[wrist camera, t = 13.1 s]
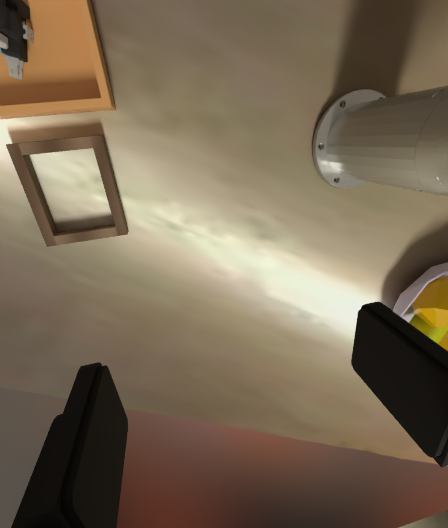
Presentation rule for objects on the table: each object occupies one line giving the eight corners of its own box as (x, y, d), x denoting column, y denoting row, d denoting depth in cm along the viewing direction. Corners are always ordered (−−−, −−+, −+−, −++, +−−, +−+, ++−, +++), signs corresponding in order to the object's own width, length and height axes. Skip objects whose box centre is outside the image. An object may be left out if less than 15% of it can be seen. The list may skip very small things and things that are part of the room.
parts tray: (79, -48, 26) (69, -70, 23) (115, 109, 31) (111, 106, 28) (-117, -47, 23) (-153, -72, 21) (-40, 122, 29) (-60, 120, 26)
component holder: (103, 135, 32) (101, 135, 31) (128, 231, 37) (127, 234, 36) (12, 144, 30) (5, 144, 29) (51, 242, 36) (46, 246, 34)
